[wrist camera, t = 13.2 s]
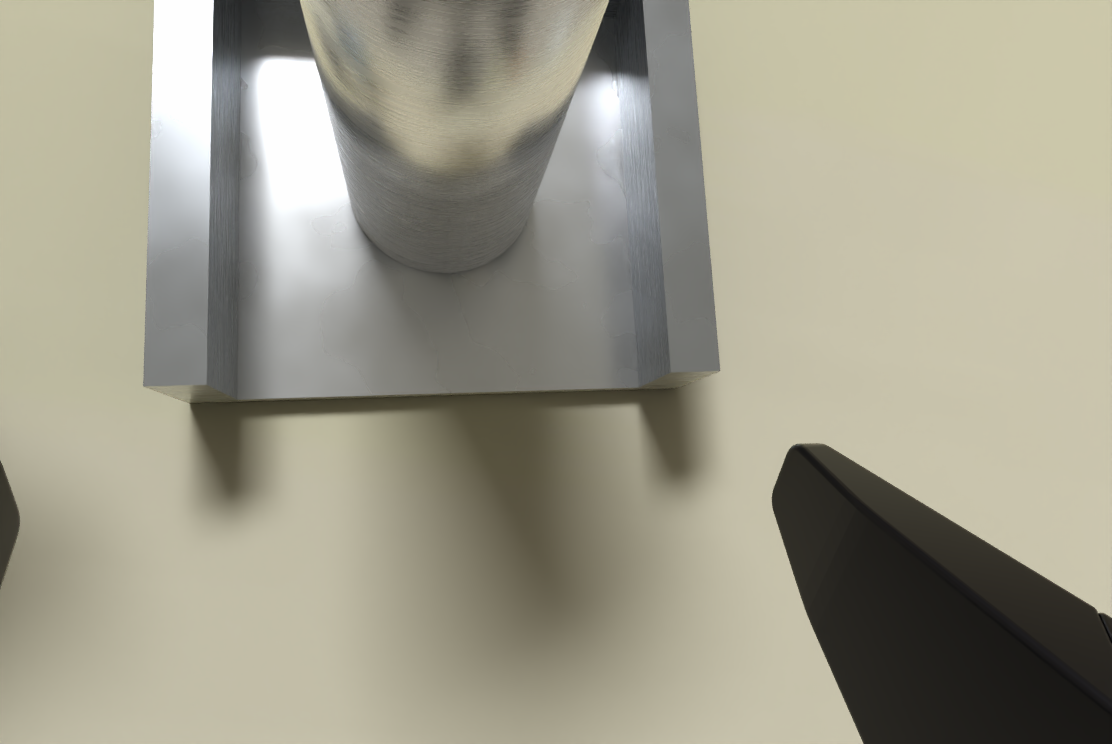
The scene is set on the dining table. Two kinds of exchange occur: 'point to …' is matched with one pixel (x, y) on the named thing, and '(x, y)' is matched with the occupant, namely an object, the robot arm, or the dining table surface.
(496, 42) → the silver metal cylinder
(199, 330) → the tray
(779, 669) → the dining table surface
